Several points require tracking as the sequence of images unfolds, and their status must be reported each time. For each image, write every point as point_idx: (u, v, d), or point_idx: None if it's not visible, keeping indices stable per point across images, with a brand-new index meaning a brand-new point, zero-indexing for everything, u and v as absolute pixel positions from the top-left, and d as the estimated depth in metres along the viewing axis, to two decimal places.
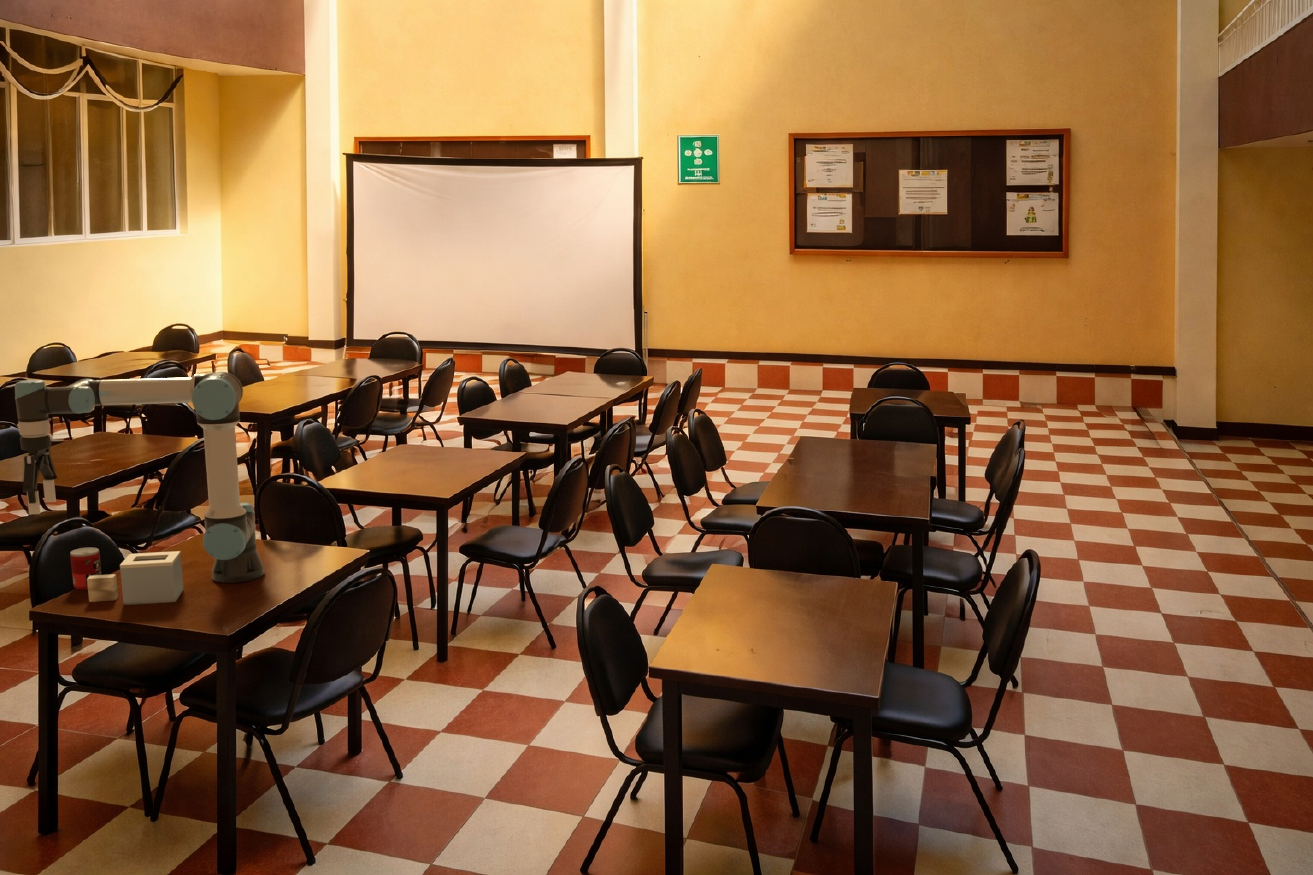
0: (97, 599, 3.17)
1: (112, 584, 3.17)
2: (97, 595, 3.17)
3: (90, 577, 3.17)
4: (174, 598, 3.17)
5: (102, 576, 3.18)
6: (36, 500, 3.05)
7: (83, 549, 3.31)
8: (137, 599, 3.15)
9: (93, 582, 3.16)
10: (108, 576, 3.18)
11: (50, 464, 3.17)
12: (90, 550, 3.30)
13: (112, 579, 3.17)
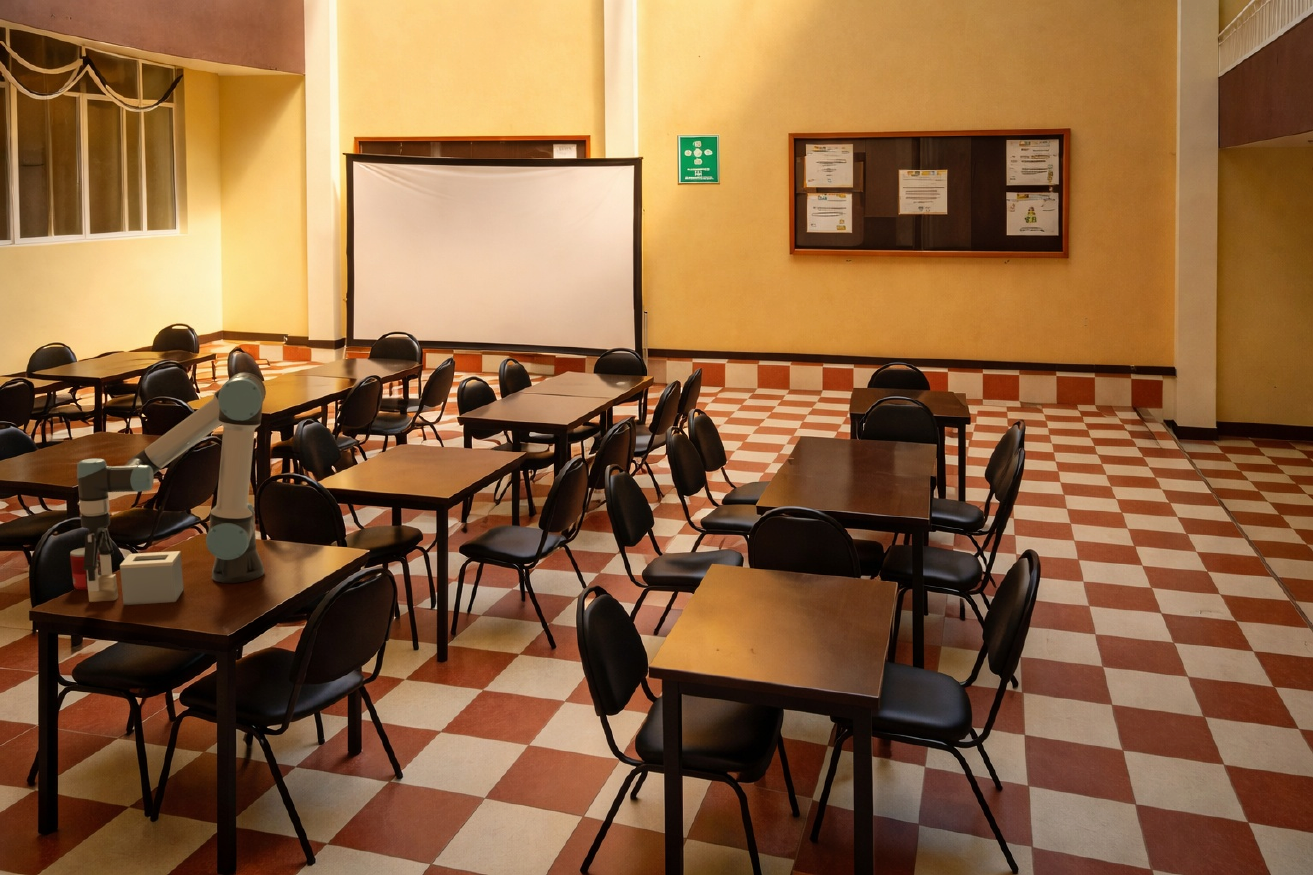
0: (97, 599, 3.17)
1: (112, 584, 3.17)
2: (97, 595, 3.17)
3: None
4: (174, 598, 3.17)
5: (102, 576, 3.18)
6: (95, 577, 3.10)
7: (83, 549, 3.31)
8: (137, 599, 3.15)
9: None
10: (108, 576, 3.18)
11: (107, 539, 3.23)
12: None
13: (112, 579, 3.17)
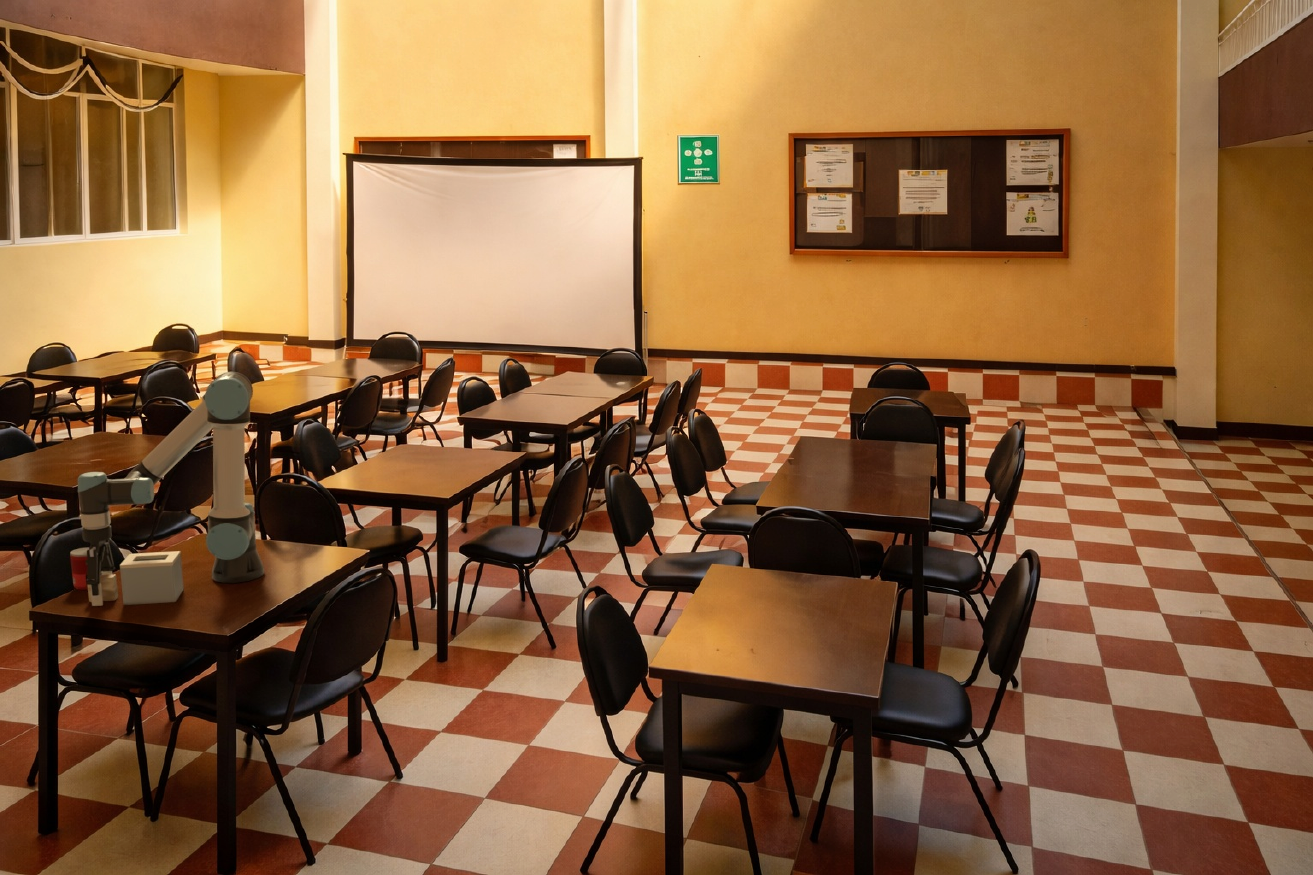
0: None
1: (112, 584, 3.17)
2: None
3: None
4: (174, 598, 3.17)
5: (102, 576, 3.18)
6: (99, 592, 3.12)
7: (83, 549, 3.31)
8: (137, 599, 3.15)
9: None
10: (108, 576, 3.18)
11: (109, 554, 3.23)
12: None
13: (112, 579, 3.17)
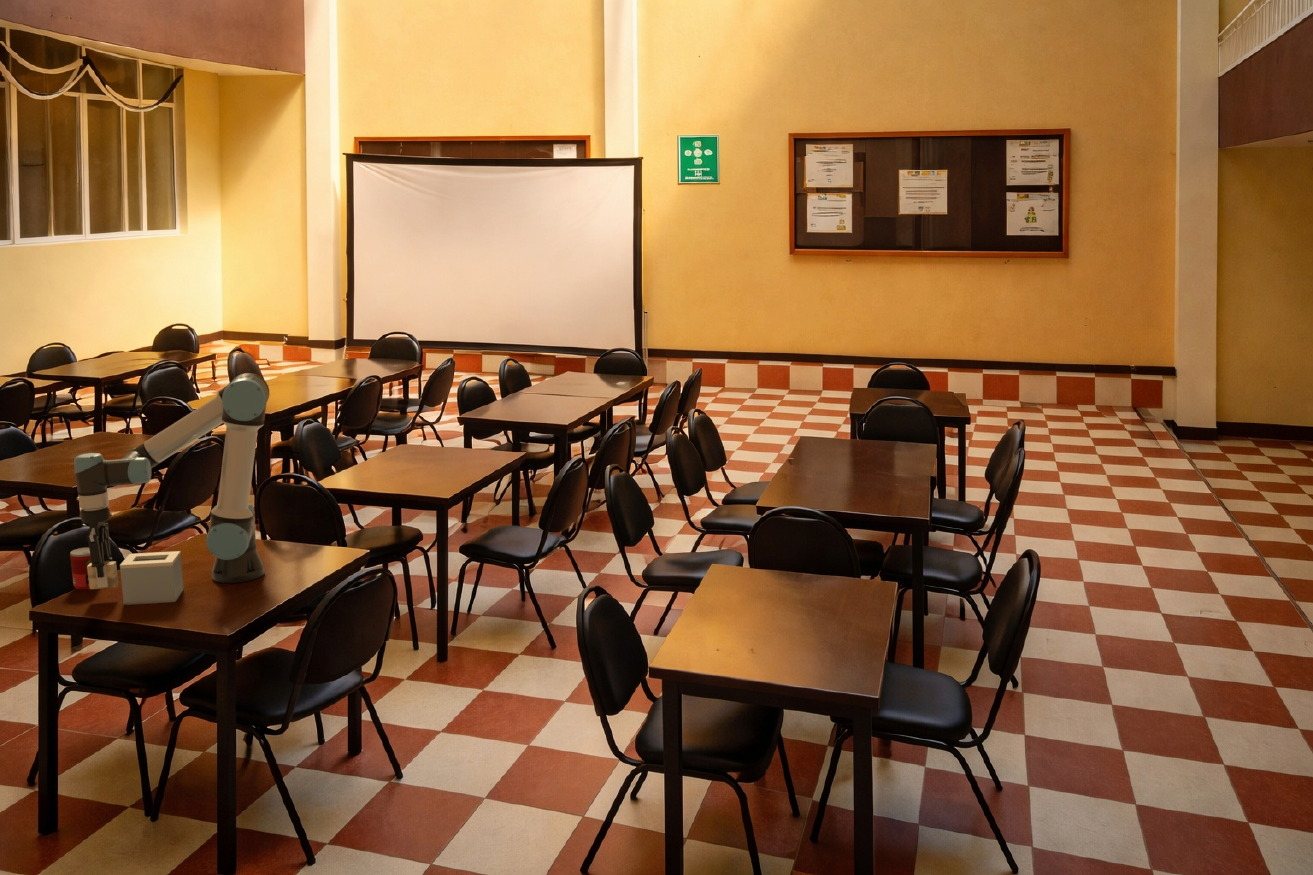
0: None
1: (112, 571, 3.16)
2: None
3: (90, 564, 3.16)
4: (174, 598, 3.17)
5: None
6: (104, 574, 3.15)
7: (83, 549, 3.31)
8: (137, 599, 3.15)
9: (93, 569, 3.15)
10: (108, 563, 3.17)
11: (107, 541, 3.20)
12: None
13: (112, 566, 3.16)
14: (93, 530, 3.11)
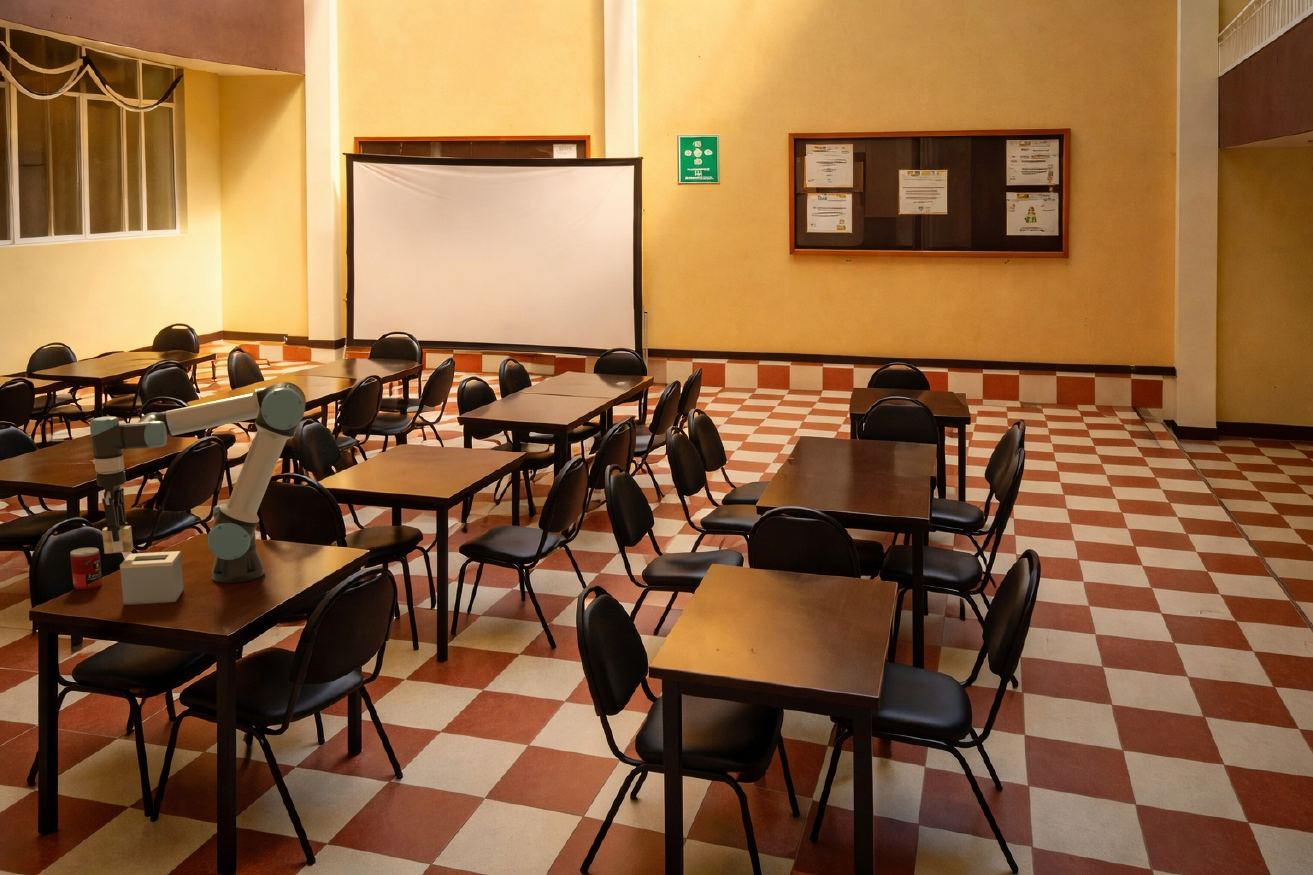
0: (112, 551, 3.15)
1: (127, 535, 3.15)
2: None
3: (105, 528, 3.15)
4: (174, 598, 3.17)
5: None
6: (119, 538, 3.14)
7: (83, 549, 3.31)
8: (137, 599, 3.15)
9: (108, 533, 3.14)
10: (123, 527, 3.16)
11: (122, 506, 3.19)
12: (90, 550, 3.30)
13: (127, 530, 3.15)
14: (109, 494, 3.09)
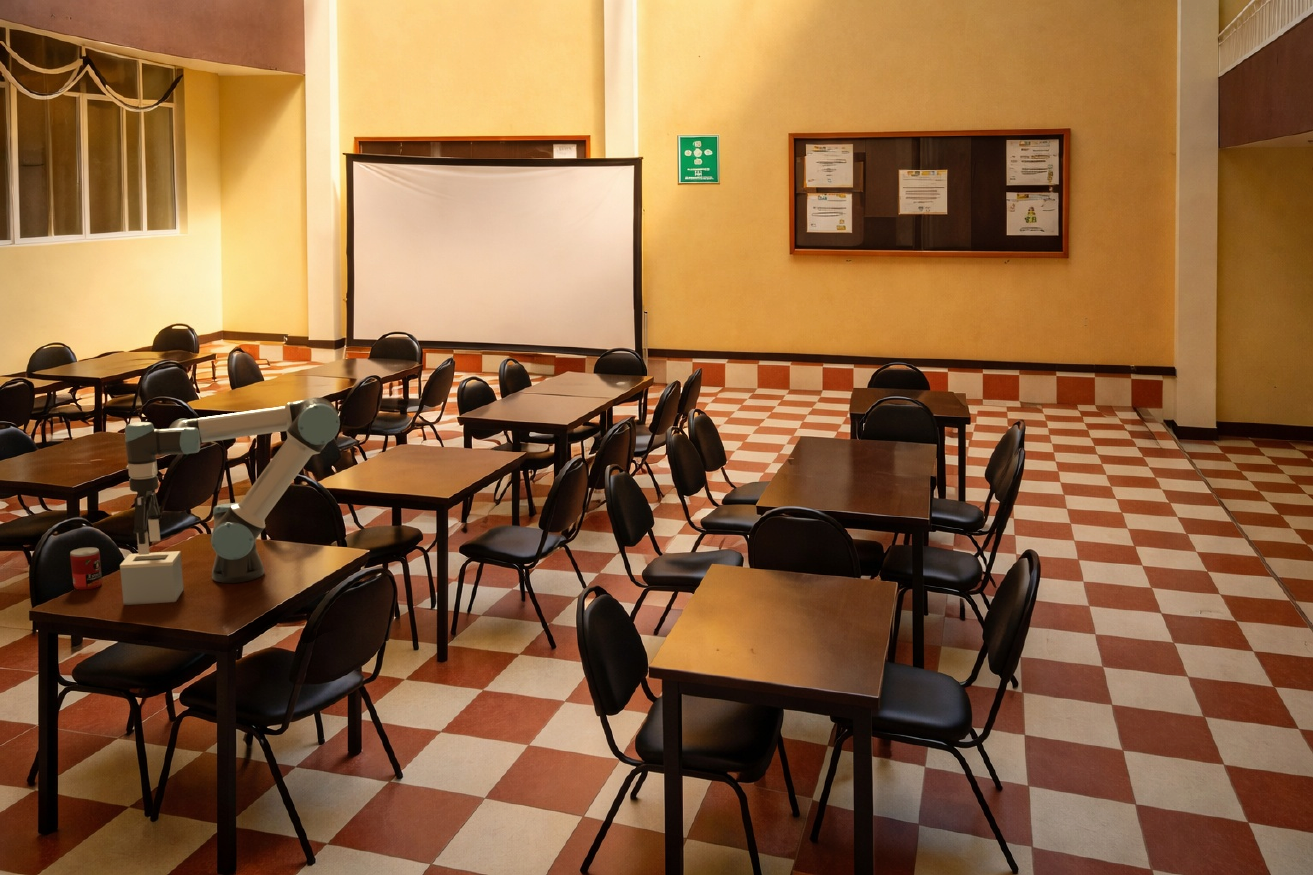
0: None
1: None
2: None
3: None
4: (174, 598, 3.17)
5: None
6: (146, 541, 3.10)
7: (83, 549, 3.31)
8: (137, 599, 3.15)
9: None
10: None
11: (155, 504, 3.23)
12: (90, 550, 3.30)
13: None
14: (141, 497, 3.11)
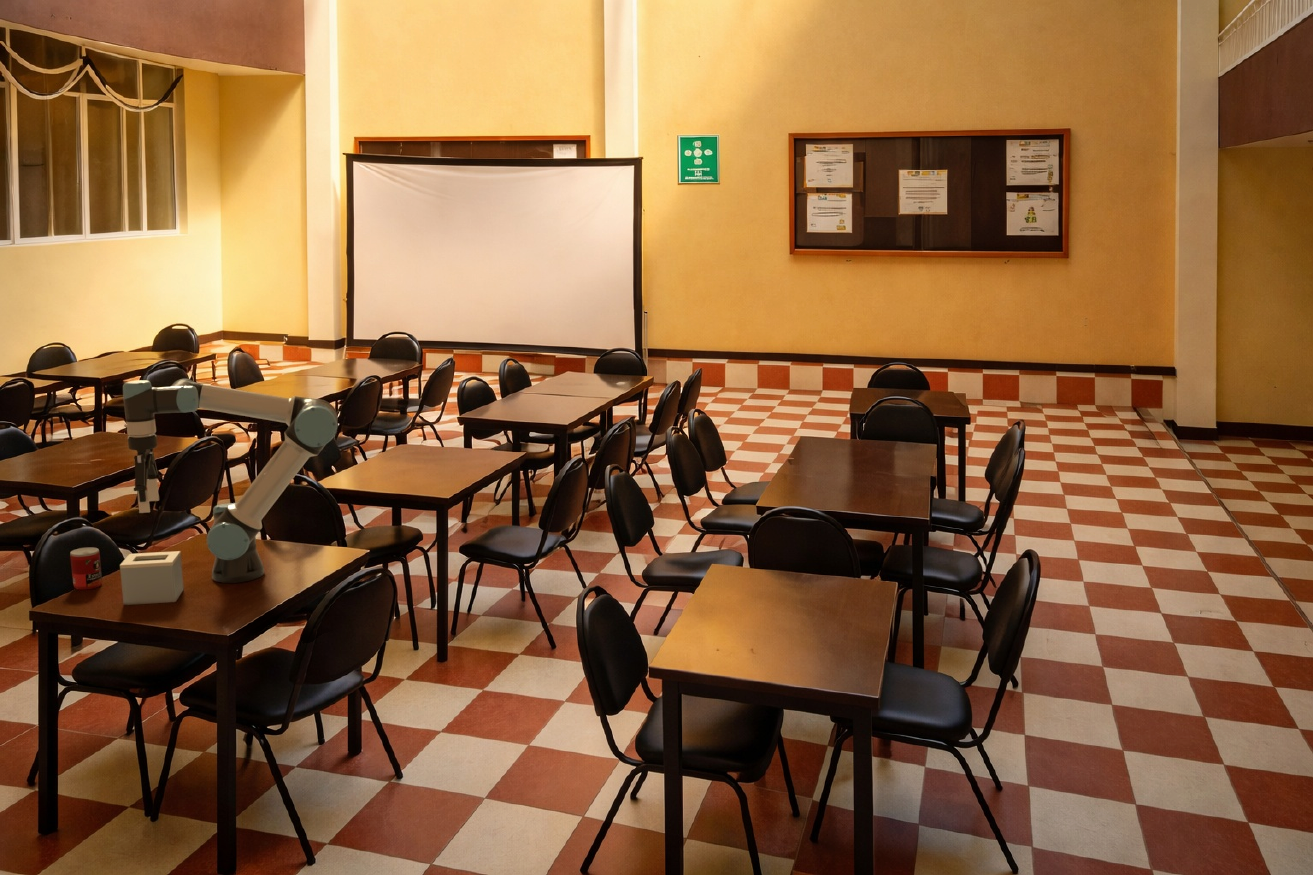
0: None
1: None
2: None
3: None
4: (174, 598, 3.17)
5: None
6: (146, 499, 3.10)
7: (83, 549, 3.31)
8: (137, 599, 3.15)
9: None
10: None
11: (153, 463, 3.22)
12: (90, 550, 3.30)
13: None
14: (141, 455, 3.10)
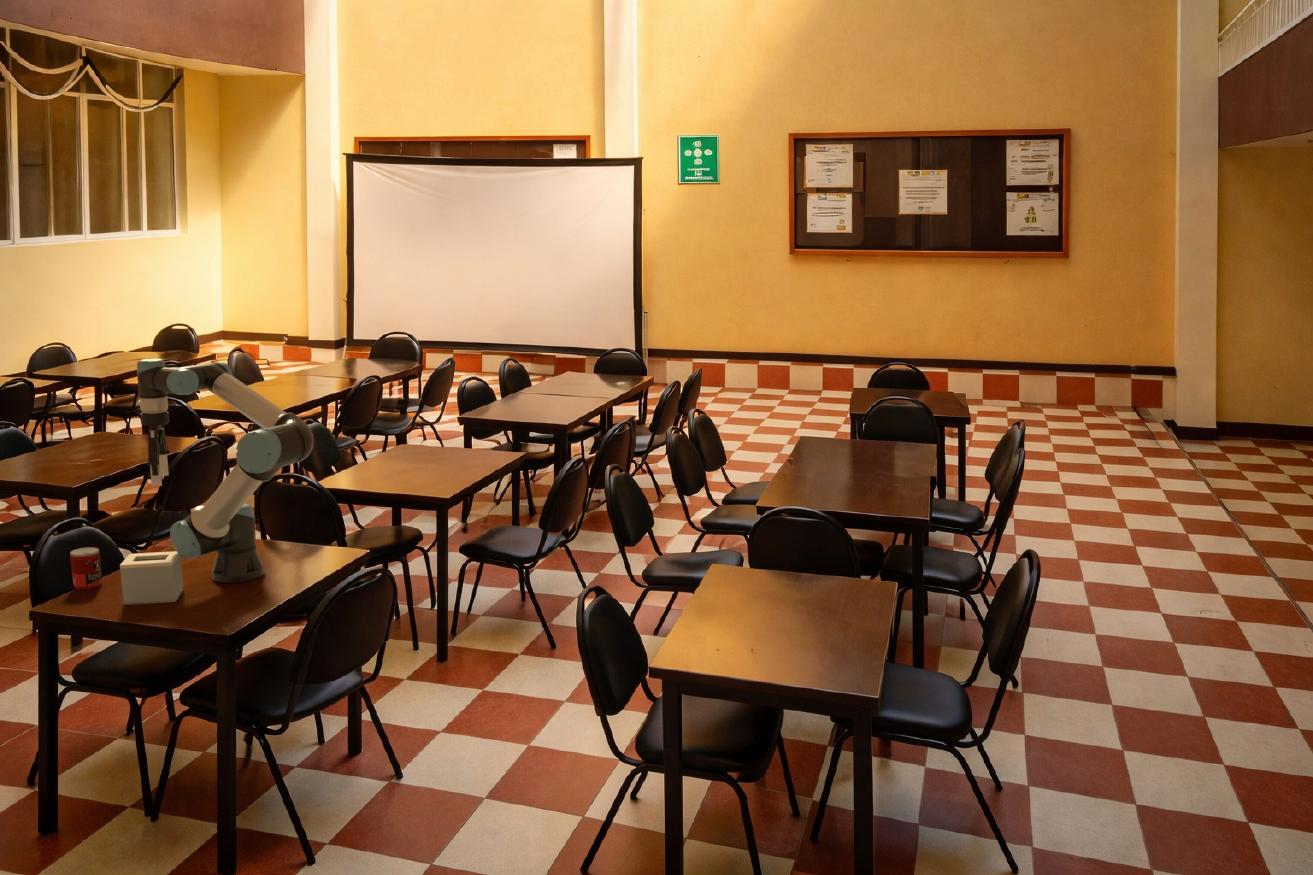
0: None
1: None
2: None
3: None
4: (174, 598, 3.17)
5: None
6: (158, 472, 3.21)
7: (83, 549, 3.31)
8: (137, 599, 3.15)
9: None
10: None
11: (164, 439, 3.34)
12: (90, 550, 3.30)
13: None
14: (154, 430, 3.22)
